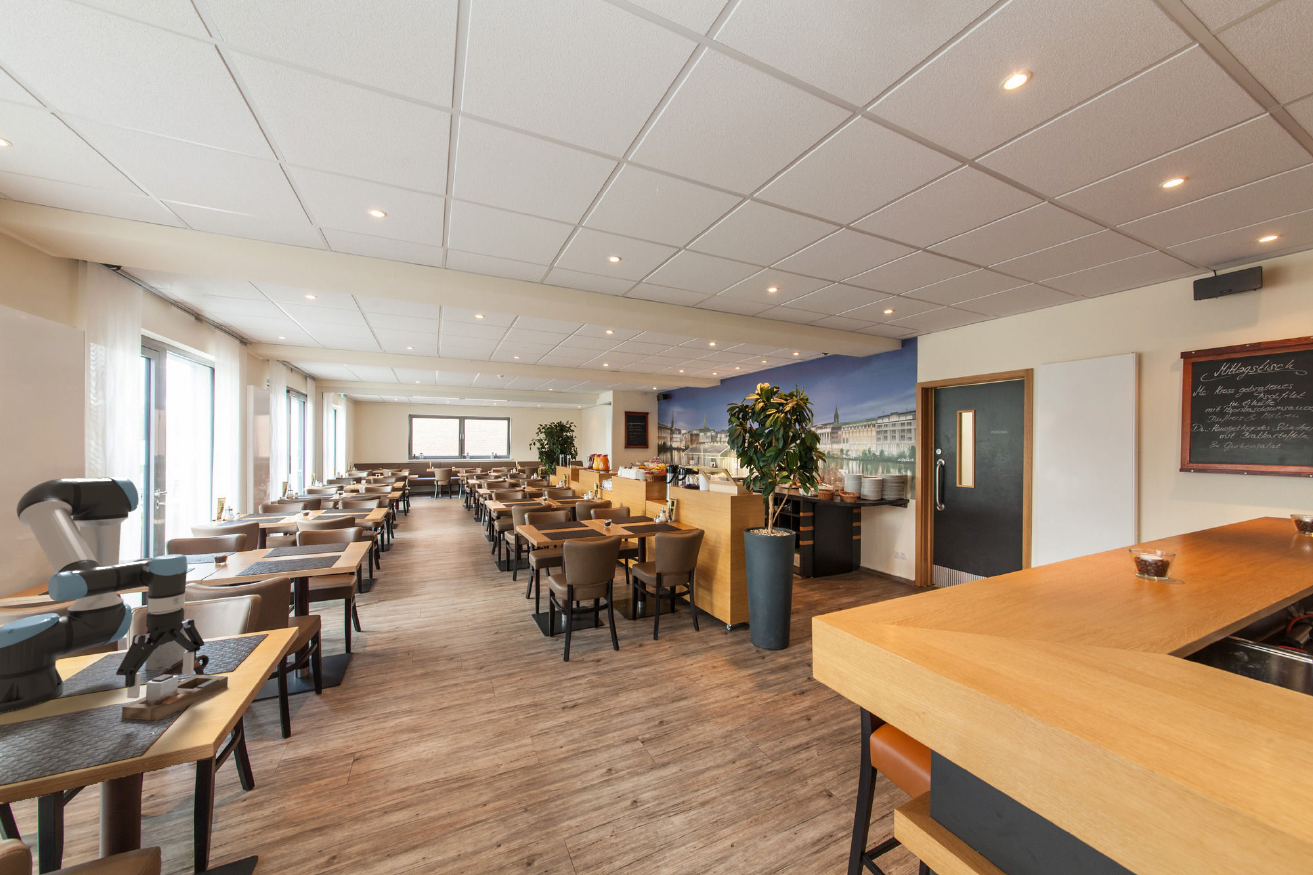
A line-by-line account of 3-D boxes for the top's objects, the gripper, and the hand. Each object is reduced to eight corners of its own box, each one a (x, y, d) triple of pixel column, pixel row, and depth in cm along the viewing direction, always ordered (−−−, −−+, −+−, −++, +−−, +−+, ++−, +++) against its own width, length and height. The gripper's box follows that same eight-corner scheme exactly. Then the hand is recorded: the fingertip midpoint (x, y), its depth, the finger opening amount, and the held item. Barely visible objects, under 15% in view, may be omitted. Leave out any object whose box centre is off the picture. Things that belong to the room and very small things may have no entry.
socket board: (121, 717, 128) (122, 705, 128) (195, 684, 147) (196, 673, 147) (157, 720, 127) (158, 707, 127) (227, 686, 146) (227, 675, 146)
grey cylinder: (164, 670, 156) (166, 633, 156) (136, 670, 156) (138, 632, 157) (193, 658, 166) (195, 623, 166) (166, 657, 166) (168, 622, 166)
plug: (145, 712, 131) (146, 680, 131) (162, 704, 135) (164, 673, 136) (159, 713, 131) (161, 681, 131) (176, 705, 135) (178, 673, 135)
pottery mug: (187, 690, 145) (170, 669, 143) (164, 700, 146) (147, 680, 145) (223, 663, 156) (208, 643, 155) (202, 673, 158) (186, 654, 156)
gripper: (124, 626, 121) (119, 709, 120) (222, 597, 146) (218, 666, 145) (99, 625, 122) (94, 707, 121) (200, 596, 147) (196, 664, 146)
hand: (161, 685), depth 133 cm, fingers open, 13 cm apart
